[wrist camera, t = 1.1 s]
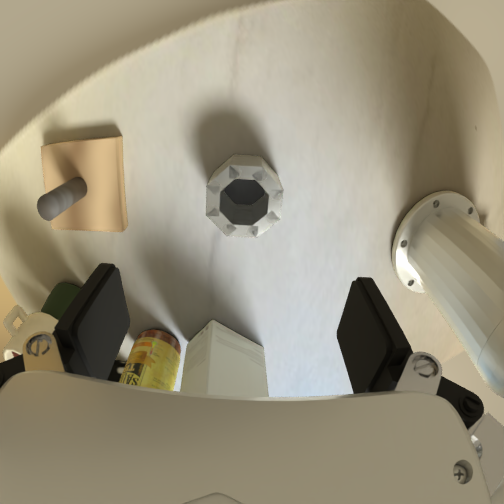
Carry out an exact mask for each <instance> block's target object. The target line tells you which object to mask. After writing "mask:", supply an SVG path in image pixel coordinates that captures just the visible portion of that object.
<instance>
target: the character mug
mask: <svg viewBox="0 0 504 504" xmlns="http://www.w3.org/2000/svg"><path fill="white" fill-rule="evenodd" d="M79 291H80V288H79V287H77V286H76V285H73V284H69V283H59V284H57V285H56V286H55V288H54V289H53V291H52V292H51V294H50V295H49V297H48V299H47V300H46V302H45V304H44V306H43V308H42V310H41V312H36V313H32V314H30V315H29V316H27V314H26V313H25V312H24V310H23V309H22V308H21V307H20V306H19V305H16V306H15V307H14V308H13V309H12V310H11V312H10V313H9V314H8V315H7V316H6V318H5V319H4V322H3V323H4V326H5V328H6V329H7V330H8V331H9V333H10V334H11V335H12V338H11V340H10V341H9V342H8V344H7V345H6V347H5V348H4V350H3V357H4V360H5V361H6V360H9V359H11V358H13V357H16V356H18V355H21V354H23V351H22V349H23V344H24V342H25V341H26V339H27V338H28V337H29V336H31V335H32V334H34V333H36V332H40V331H46V332H49V333H51V334H52V333H53V331H54V330H55V329H54V327H55V326H56V324H57V323H58V321H59V320H60V318H61V317H62V315H63V314H64V312H65V311H66V309H67V308H68V306H69V305H70V303H71V302H72V301H73V299H74V298H75V296H76V295H77V294H78V292H79ZM18 316H19V318H20V319H21V320H22V322H23V323H22V324H21V325H20V327H19V328H18V329H16V328H15V327H14V325H13V322H14V320H15V319H16V318H17V317H18Z"/></svg>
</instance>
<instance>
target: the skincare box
mask: <svg viewBox="0 0 504 504" xmlns="http://www.w3.org/2000/svg"><path fill="white" fill-rule="evenodd" d="M180 392H187V393H197V394H209V395H223V396H244V397H269V395H268V385H267V375H266V365H265V356H264V348H263V347H262V346H260V345H258V344H256V343H254V342H252V341H250V340H249V339H247V338H245V337H243V336H241V335H240V334H238V333H236V332H234V331H232V330H231V329H229V328H227V327H225V326H223V325H222V324H220V323H218V322H217V321H215V320H211V321H210V322H209V323H208V324H207V325H206V326H205V327H204V328H203V329H202V330H201V331H200V332H199V333H198V334H197V335H196V336H195V337H194V338H193V339H192V340H190V341H189V343H188V344H187V348H186V354H185V361H184V367H183V375H182V382H181V389H180Z"/></svg>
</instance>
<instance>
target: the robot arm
mask: <svg viewBox="0 0 504 504" xmlns="http://www.w3.org/2000/svg"><path fill="white" fill-rule="evenodd" d="M392 263H393V268H394V271H395V273H396V275H397V277H398V278H399V280H400V281H401V283H402V284H403V285H404V286H405V287H406V288H407V289H409V290H411V291H413V292H417V293H426V294H427V295H428V296H429V298H430V299H431V300H432V302H433V303H434V305H435V306H436V307H437V309H438V310H439V312H440V313H441V314H442V316H443V317H444V319H445V320H446V322H447V323H448V325H449V326H450V327H451V329H452V330H453V332H454V333H455V335H456V337H457V338H458V340H459V341H460V343H461V344H462V346H463V347H464V349H465V351H466V352H467V354H468V355H469V357H470V359H471V360H472V362H473V363H474V365H475V367H476V368H477V370H478V372H479V373H480V375H481V377H482V378H483V380H484V382H485V383H486V384H487V386H488V387H489V388H490V389H491V390H492V391H493V392H494V393H496V394H497V395H499V396H501V397H503V398H504V241H502V240H501V239H500V238H499V237H497V236H496V235H495V234H493V233H492V232H491V231H489V230H488V229H487V228H485V227H484V226H483V225H481V224H480V220H479V216H478V213H477V210H476V208H475V206H474V205H473V204H472V202H471V201H470V200H468V199H467V198H466V197H465V196H463V195H461V194H459V193H457V192H453V191H439V192H435V193H432V194H430V195H428V196H426V197H424V198H423V199H422V200H420V201H419V202H418V203H417V204H415V205H414V207H413V208H412V209H411V210H410V211H409V212H408V213H407V215H406V216H405V218H404V219H403V221H402V222H401V224H400V226H399V228H398V230H397V233H396V236H395V239H394V242H393V248H392ZM129 325H130V318H129V314H128V309H127V305H126V301H125V296H124V291H123V287H122V282H121V277H120V271H119V269H118V268H116V267H115V265H114V264H107V263H100V264H99V266H98V267H97V268H96V269H95V271H94V272H93V273H92V275H91V276H90V277H89V279H88V280H87V281H86V283H85V284H84V285H83V287H82V288H81V289H80V291H79V292H78V294H77V295H76V296H75V298H74V299H73V301H72V302H71V303H70V305H69V306H68V308H67V309H66V311H65V312H64V314H63V315H62V317H61V318H60V320H59V321H58V323H57V324H56V326H55V327H54V329H55V330H54V331H53V333H52V334H51V333H49V332H46V331H40V332H36V333H34V334H32V335H31V336H29V337H28V338H27V339H26V341H25V342H24V344H23V349H22V351H23V354H21V355H18V356H16V357H13V358H11V359H9V360H6V361H4V362H2V363H0V504H504V426H503V425H501V424H500V423H499V422H498V421H497V420H496V419H495V418H494V417H493V416H491V414H489V413H487V414H486V415H485V414H484V407H483V403H482V401H481V399H480V398H479V397H478V396H477V395H476V394H474V393H473V392H471V391H469V390H467V389H465V388H463V387H461V386H459V385H457V384H456V383H454V382H452V381H450V380H448V379H446V378H444V377H442V376H441V375H442V367H441V364H440V363H439V361H438V360H437V359H436V358H435V357H434V356H432V355H431V354H429V353H426V352H415V353H413V351H412V349H411V346H410V344H409V342H408V340H407V339H406V337H405V335H404V333H403V331H402V329H401V327H400V326H399V324H398V322H397V320H396V318H395V317H394V315H393V313H392V311H391V309H390V308H389V306H388V304H387V302H386V301H385V299H384V297H383V296H382V294H381V292H380V290H379V289H378V287H377V285H376V284H375V282H374V280H373V279H372V278H369V277H358V278H357V279H356V281H353V282H352V284H351V287H350V291H349V294H348V298H347V301H346V304H345V307H344V311H343V314H342V317H341V320H340V323H339V326H338V329H337V339H338V342H339V346H340V349H341V352H342V355H343V359H344V362H345V365H346V368H347V372H348V375H349V379H350V382H351V385H352V389H353V392H354V394H346V395H330V396H311V397H244V396H223V395H209V394H197V393H187V392H178V391H169V390H161V389H154V388H147V387H141V386H135V385H129V384H123V383H118V382H112V381H107V379H108V376H109V374H110V371H111V369H112V366H113V364H114V361H115V359H116V357H117V354H118V352H119V349H120V347H121V345H122V342H123V340H124V338H125V335H126V333H127V331H128V328H129Z"/></svg>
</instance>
